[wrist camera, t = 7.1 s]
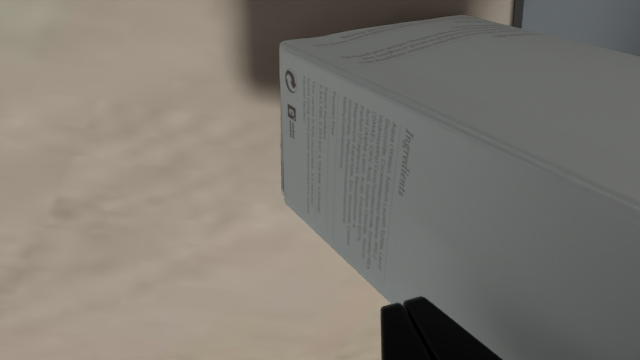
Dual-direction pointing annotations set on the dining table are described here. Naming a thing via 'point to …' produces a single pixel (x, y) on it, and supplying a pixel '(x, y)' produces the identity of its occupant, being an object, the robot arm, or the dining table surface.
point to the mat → (584, 21)
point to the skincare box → (475, 176)
